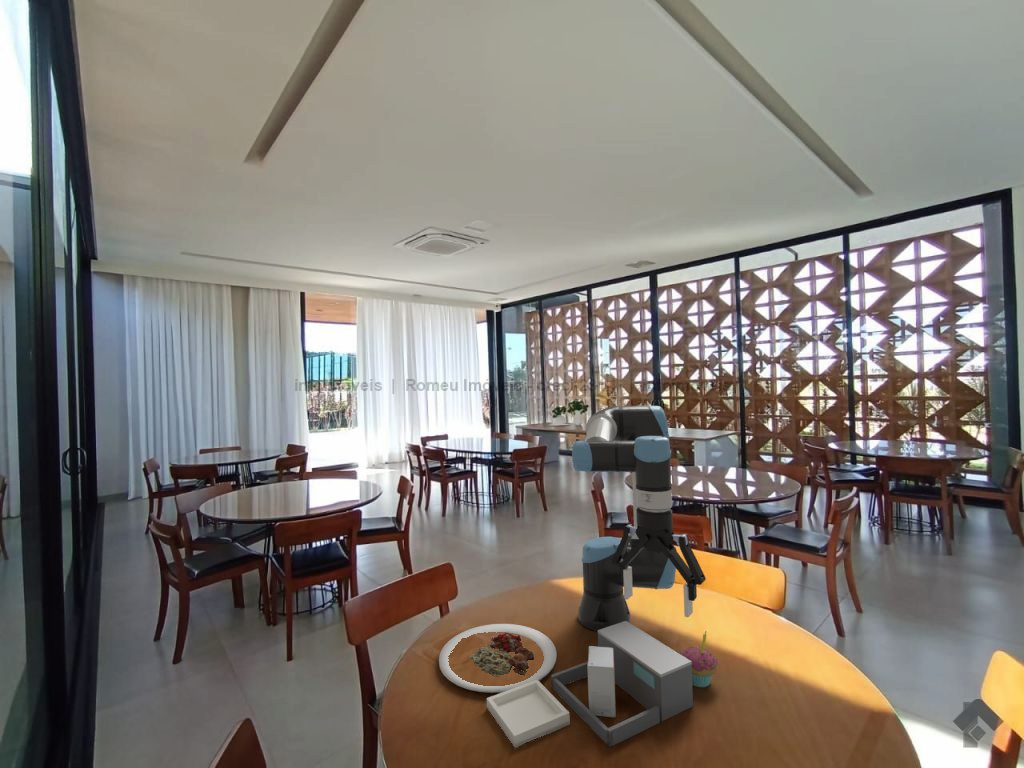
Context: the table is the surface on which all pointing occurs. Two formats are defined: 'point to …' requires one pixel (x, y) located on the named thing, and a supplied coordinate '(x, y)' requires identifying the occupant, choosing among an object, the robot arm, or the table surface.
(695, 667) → the cupcake
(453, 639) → the plated food
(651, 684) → the printer
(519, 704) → the tray
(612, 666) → the small box
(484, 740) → the table surface
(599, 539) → the robot arm
